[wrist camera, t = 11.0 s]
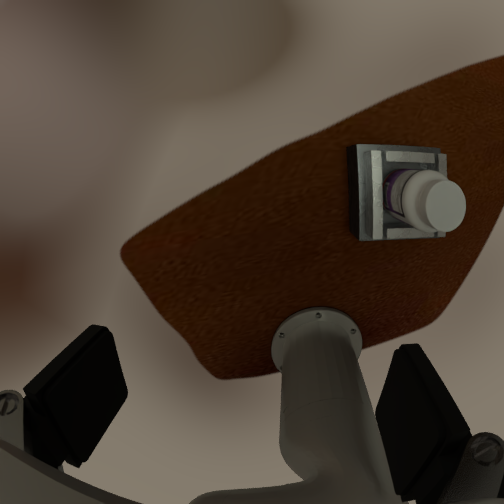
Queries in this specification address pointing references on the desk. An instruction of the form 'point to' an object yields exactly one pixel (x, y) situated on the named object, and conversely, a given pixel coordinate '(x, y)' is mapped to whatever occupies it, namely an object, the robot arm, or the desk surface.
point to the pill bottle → (423, 200)
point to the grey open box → (371, 192)
